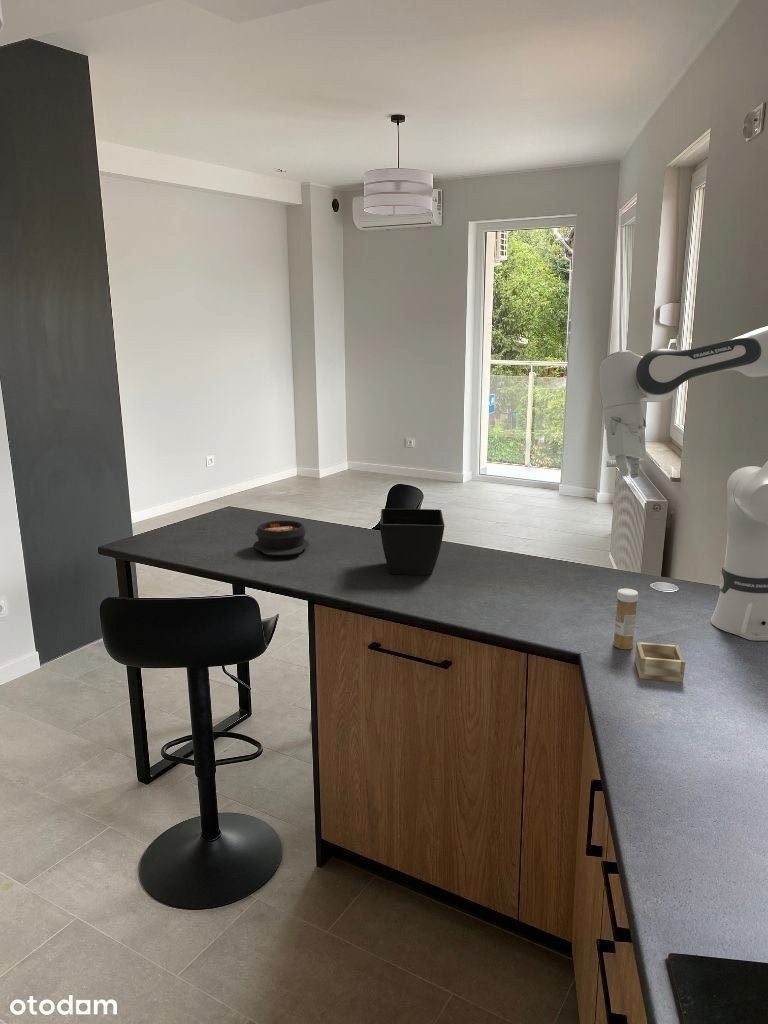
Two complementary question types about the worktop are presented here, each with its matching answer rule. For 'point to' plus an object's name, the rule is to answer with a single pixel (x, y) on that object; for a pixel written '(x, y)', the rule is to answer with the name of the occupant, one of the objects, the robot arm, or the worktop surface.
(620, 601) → the sprinkles bottle
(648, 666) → the box
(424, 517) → the flower pot
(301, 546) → the casserole
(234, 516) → the worktop surface
